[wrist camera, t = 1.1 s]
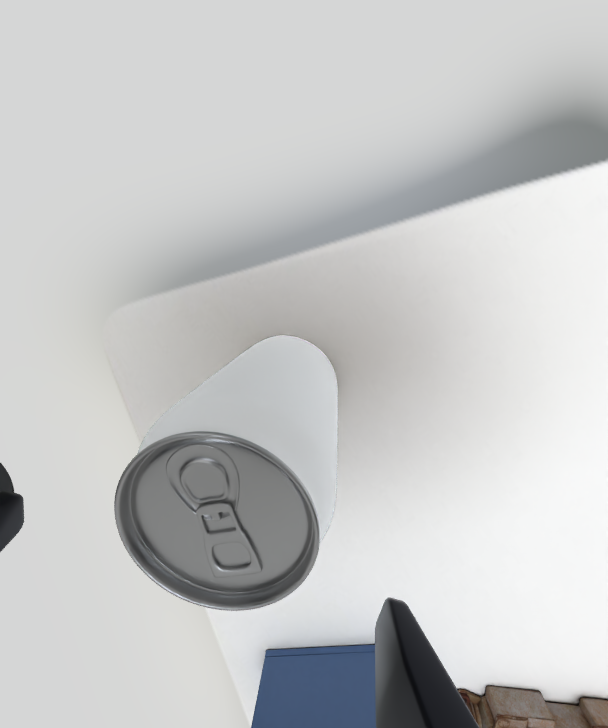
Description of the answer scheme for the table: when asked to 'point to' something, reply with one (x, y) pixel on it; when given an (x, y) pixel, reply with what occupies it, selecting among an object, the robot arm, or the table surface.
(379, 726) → the robot arm
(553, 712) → the telephone
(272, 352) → the can
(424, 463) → the table surface
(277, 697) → the bin
